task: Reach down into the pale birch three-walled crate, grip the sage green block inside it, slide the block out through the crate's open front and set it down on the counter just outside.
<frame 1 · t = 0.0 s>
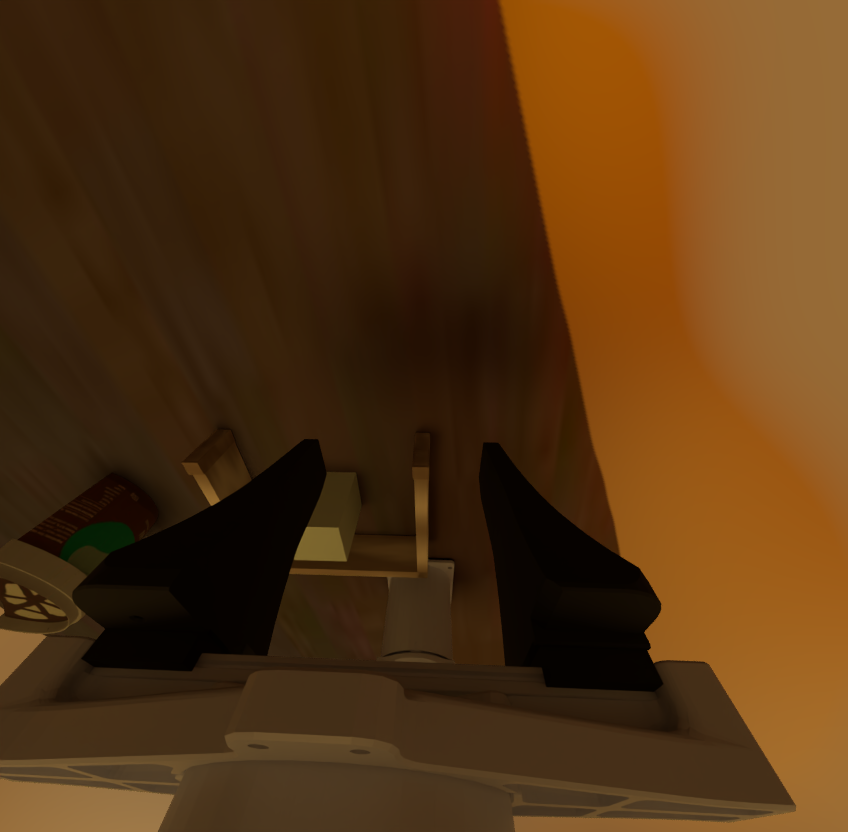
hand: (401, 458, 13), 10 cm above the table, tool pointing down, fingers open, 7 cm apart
sage block: (326, 514, 26), in the open crate
food container: (140, 509, 32), on the table
open crate: (336, 489, 29), on the table
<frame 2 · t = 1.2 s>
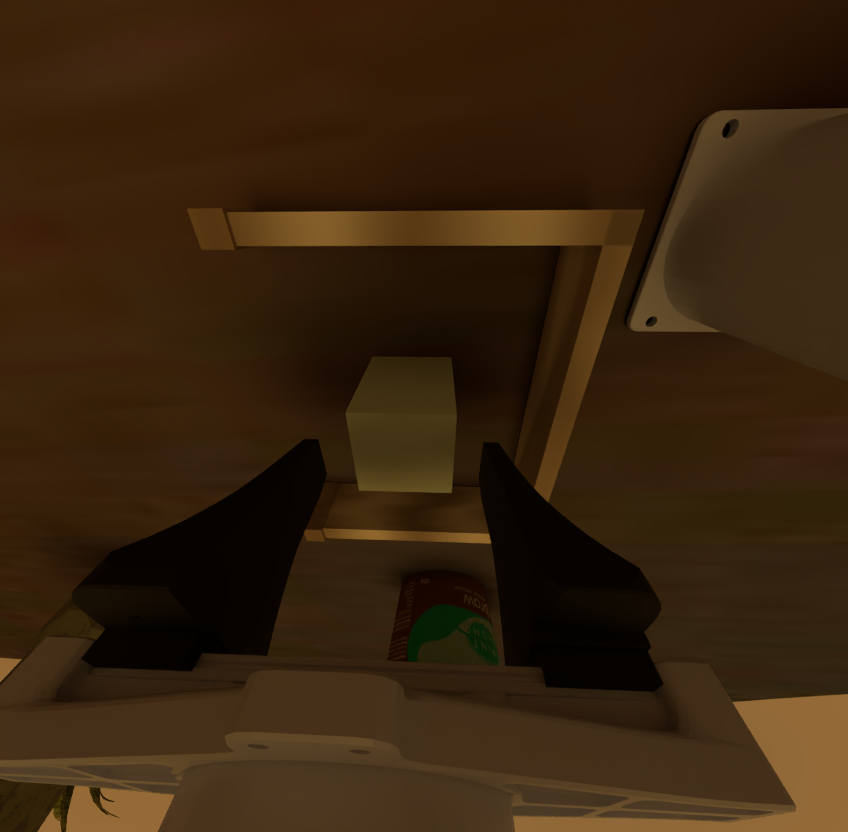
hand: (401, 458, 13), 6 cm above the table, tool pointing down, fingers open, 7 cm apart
sage block: (408, 418, 16), in the open crate
food container: (457, 582, 30), on the table
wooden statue: (162, 571, 31), on the table
open crate: (412, 392, 18), on the table
house plant: (155, 633, 40), on the table
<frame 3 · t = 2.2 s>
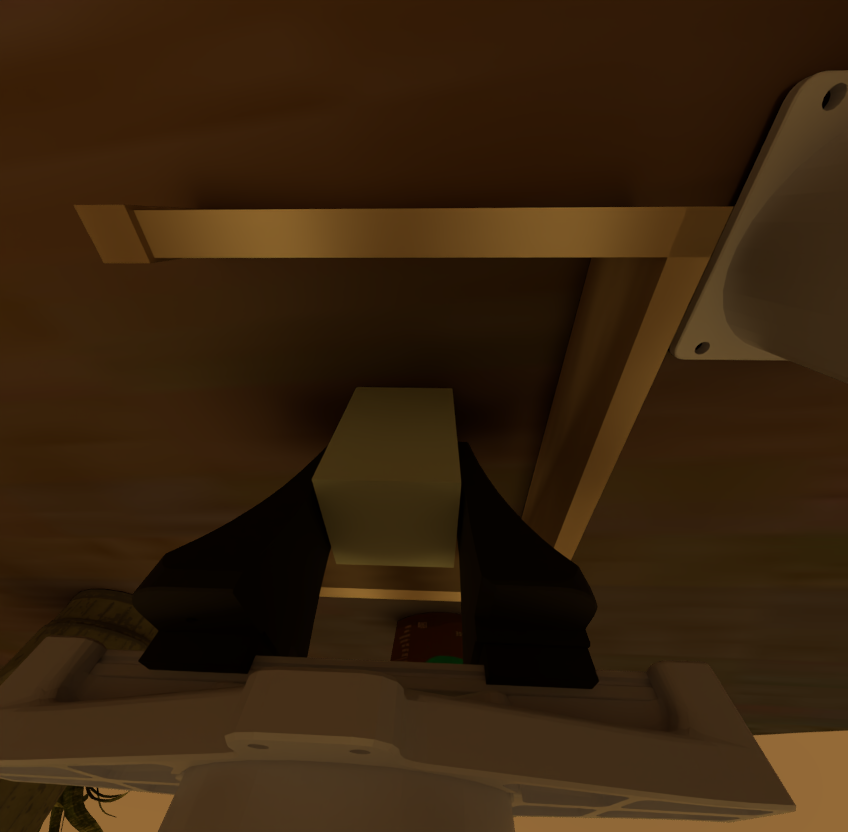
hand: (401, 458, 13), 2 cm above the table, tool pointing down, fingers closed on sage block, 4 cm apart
sage block: (399, 467, 13), in the open crate, touching gripper
food container: (458, 623, 27), on the table
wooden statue: (130, 611, 28), on the table
open crate: (405, 427, 15), on the table
house plant: (129, 670, 37), on the table
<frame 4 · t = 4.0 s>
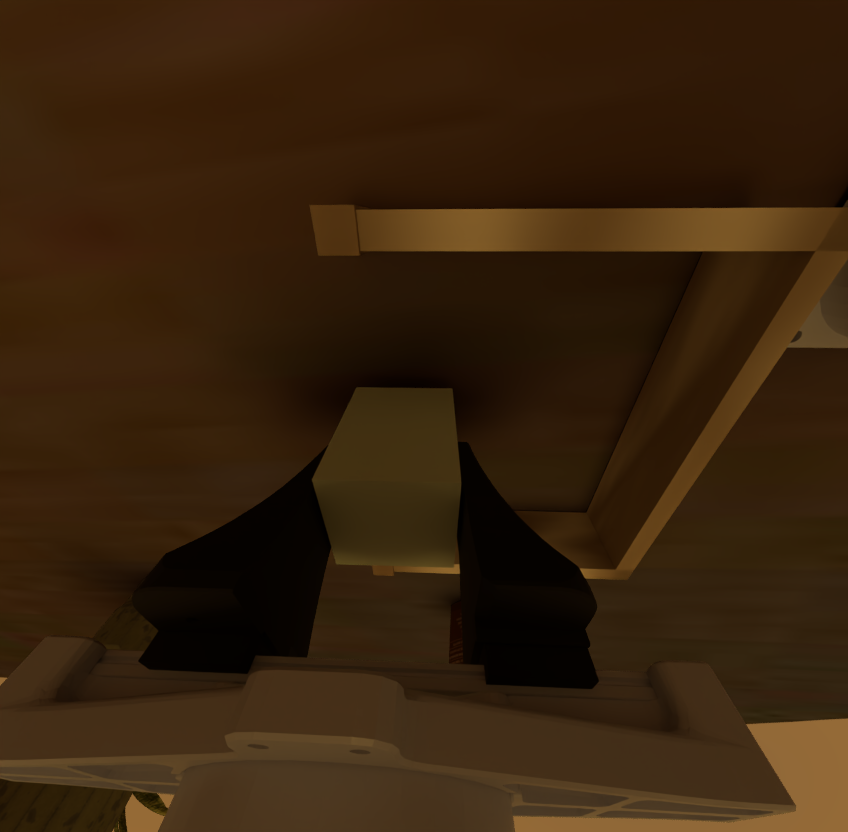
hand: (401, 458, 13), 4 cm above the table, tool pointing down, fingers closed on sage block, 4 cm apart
sage block: (399, 467, 13), point 4 cm above the table, touching gripper
food container: (509, 606, 28), on the table
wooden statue: (192, 594, 29), on the table
open crate: (499, 412, 16), on the table
house plant: (177, 655, 38), on the table
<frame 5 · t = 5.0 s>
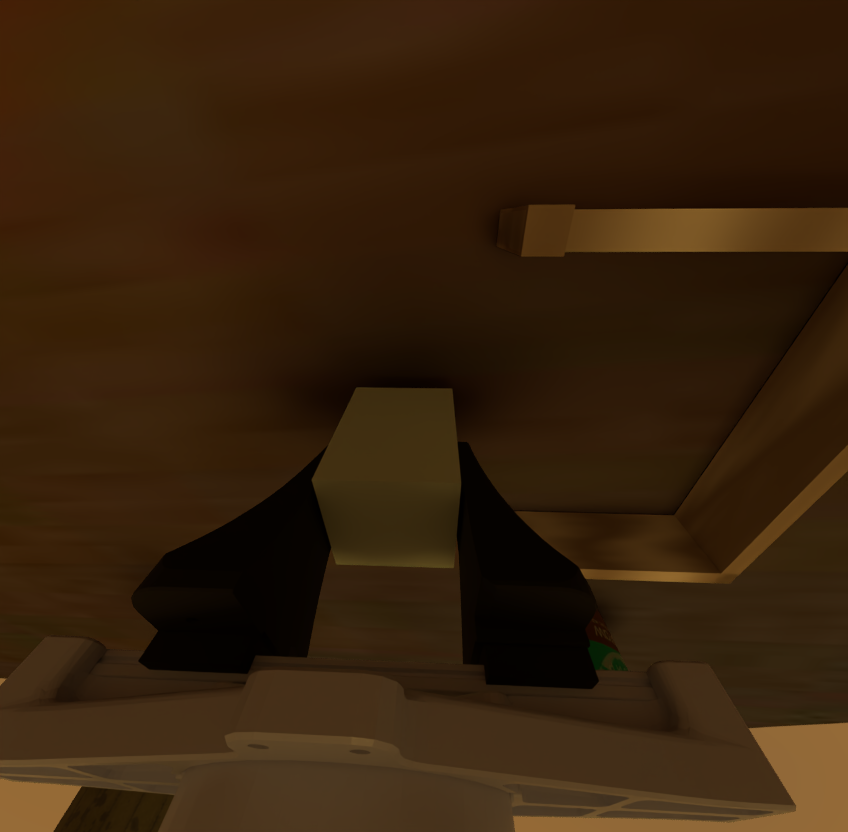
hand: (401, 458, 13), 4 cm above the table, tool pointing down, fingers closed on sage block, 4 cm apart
sage block: (399, 468, 13), point 4 cm above the table, touching gripper
food container: (572, 609, 28), on the table
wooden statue: (250, 598, 29), on the table
open crate: (608, 414, 16), on the table
when the fingers open (3 cm above the table, at t = 6.0 s): sage block stays where it is, on the table.
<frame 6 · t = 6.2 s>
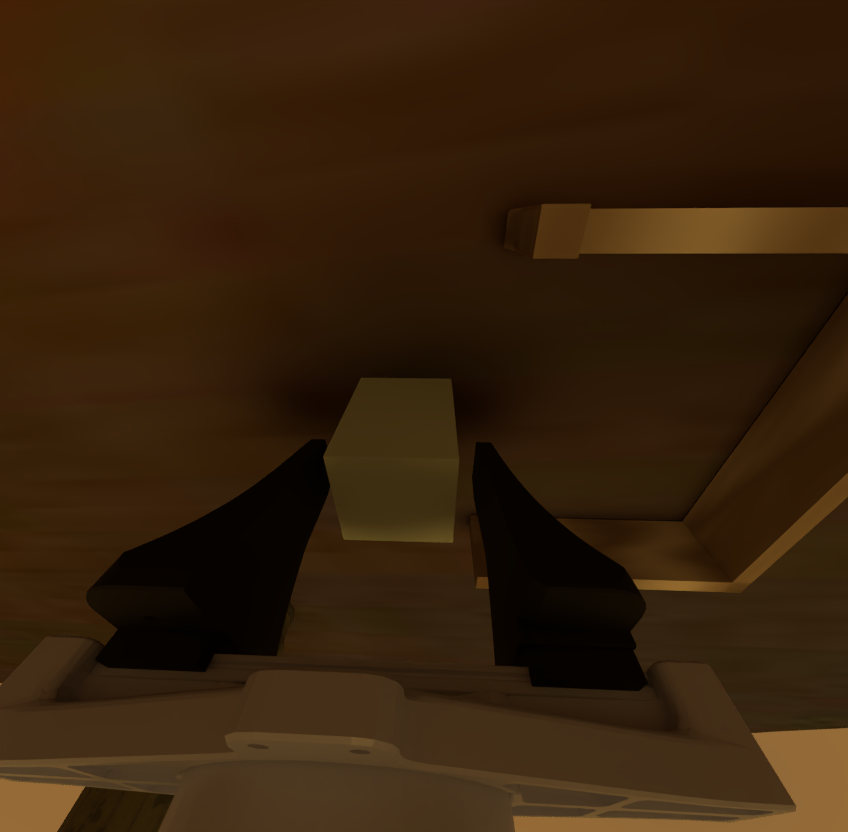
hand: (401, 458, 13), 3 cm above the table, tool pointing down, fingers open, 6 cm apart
sage block: (402, 451, 14), on the table
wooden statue: (249, 603, 29), on the table
open crate: (616, 419, 16), on the table
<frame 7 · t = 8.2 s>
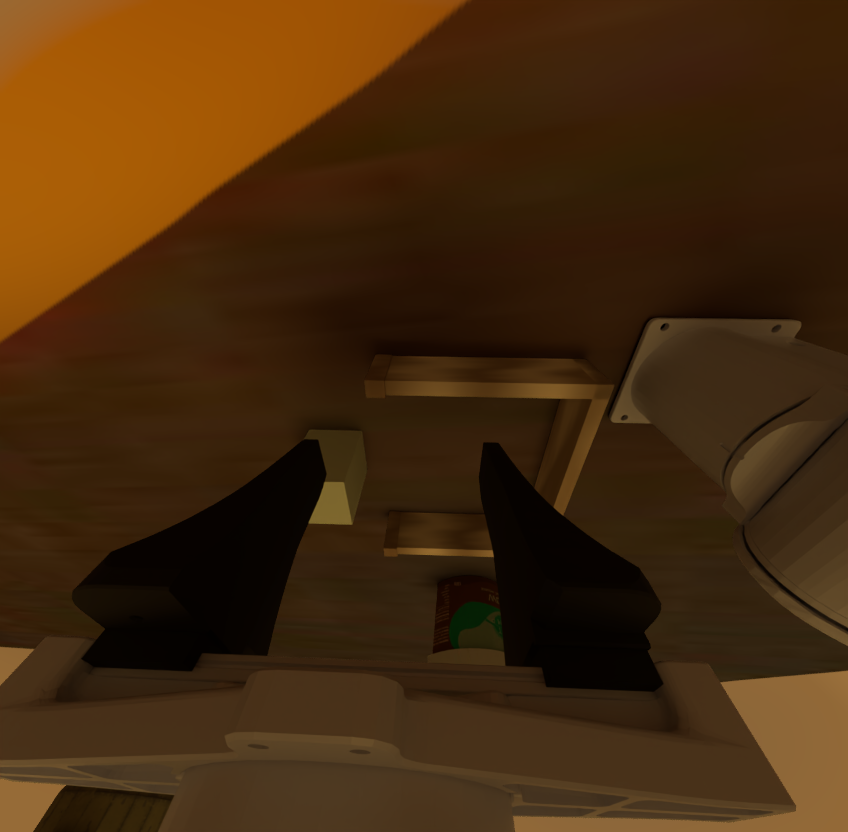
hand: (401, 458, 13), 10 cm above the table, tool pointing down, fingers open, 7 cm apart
sage block: (329, 474, 24), on the table
food container: (481, 584, 38), on the table
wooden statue: (243, 576, 39), on the table
open crate: (463, 453, 26), on the table
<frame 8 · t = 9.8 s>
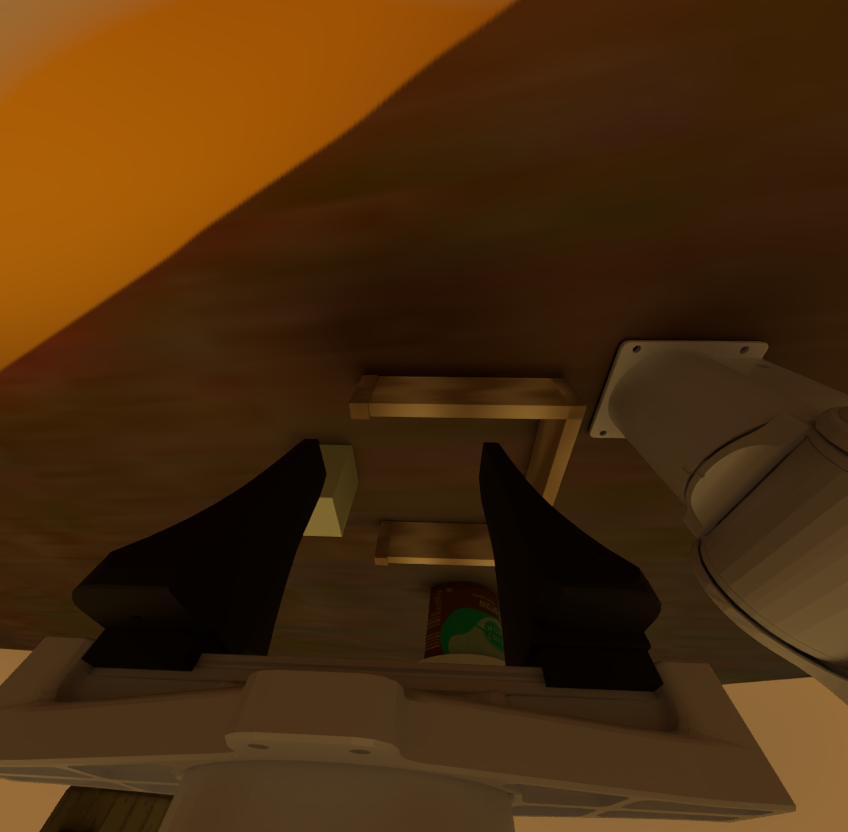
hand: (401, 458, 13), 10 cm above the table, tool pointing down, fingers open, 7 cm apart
sage block: (320, 487, 25), on the table
food container: (473, 590, 39), on the table
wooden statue: (242, 582, 40), on the table
open crate: (450, 466, 27), on the table
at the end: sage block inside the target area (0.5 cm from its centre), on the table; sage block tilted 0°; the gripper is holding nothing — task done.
